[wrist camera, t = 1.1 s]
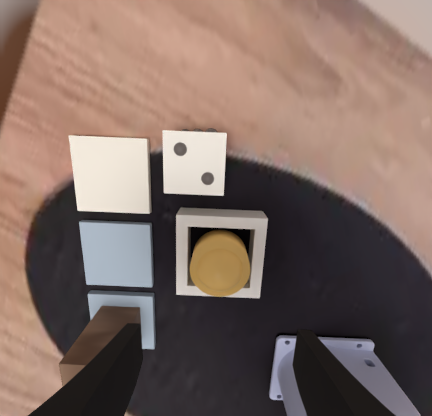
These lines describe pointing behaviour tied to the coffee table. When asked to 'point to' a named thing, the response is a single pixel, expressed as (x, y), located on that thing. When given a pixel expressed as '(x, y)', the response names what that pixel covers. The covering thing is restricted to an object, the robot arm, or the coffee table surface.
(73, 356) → the brown rectangular block
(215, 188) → the die
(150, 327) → the tile
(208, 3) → the coffee table surface
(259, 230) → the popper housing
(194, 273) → the dome button
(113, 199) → the tile
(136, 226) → the tile
